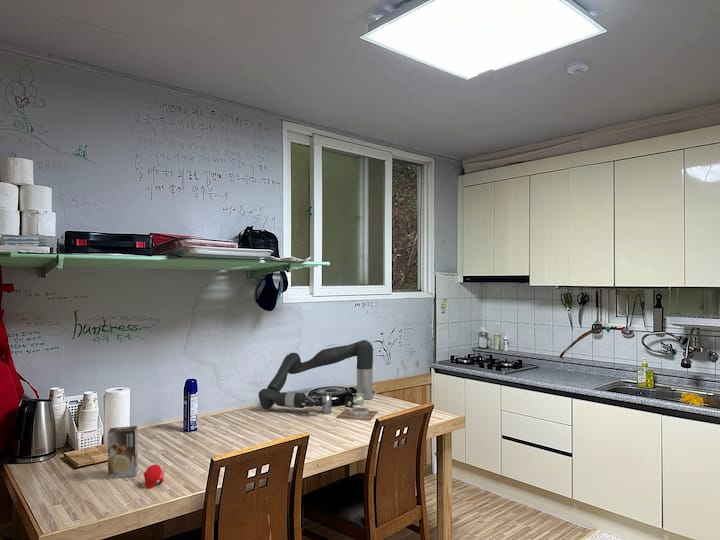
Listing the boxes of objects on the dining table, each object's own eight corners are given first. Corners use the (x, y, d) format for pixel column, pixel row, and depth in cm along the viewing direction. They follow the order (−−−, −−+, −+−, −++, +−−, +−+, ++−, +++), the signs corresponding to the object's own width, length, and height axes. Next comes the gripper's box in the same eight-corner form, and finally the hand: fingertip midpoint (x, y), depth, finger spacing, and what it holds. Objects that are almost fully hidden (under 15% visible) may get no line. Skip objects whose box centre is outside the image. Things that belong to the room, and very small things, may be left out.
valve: (357, 404, 280) (343, 408, 270) (357, 392, 280) (343, 396, 271) (367, 405, 276) (353, 410, 266) (366, 393, 276) (353, 397, 267)
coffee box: (138, 469, 183) (138, 425, 184) (135, 476, 177) (136, 430, 177) (110, 472, 181) (110, 427, 181) (107, 479, 174) (107, 432, 175)
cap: (147, 470, 174) (138, 466, 169) (164, 463, 175) (156, 459, 170) (149, 493, 170) (140, 490, 165) (166, 487, 171) (158, 483, 165)
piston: (323, 413, 260) (323, 391, 261) (332, 413, 259) (332, 392, 260) (321, 415, 256) (320, 393, 256) (329, 416, 255) (329, 394, 255)
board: (344, 411, 265) (344, 409, 265) (378, 413, 260) (378, 411, 260) (334, 420, 247) (334, 418, 247) (370, 422, 243) (370, 420, 243)
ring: (352, 411, 259) (352, 406, 259) (370, 412, 257) (370, 408, 257) (347, 416, 250) (347, 411, 250) (366, 417, 248) (365, 412, 248)
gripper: (290, 395, 255) (320, 397, 251) (300, 390, 269) (329, 391, 265) (290, 410, 255) (320, 412, 251) (300, 404, 269) (329, 405, 265)
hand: (325, 401), depth 258 cm, fingers open, 8 cm apart
